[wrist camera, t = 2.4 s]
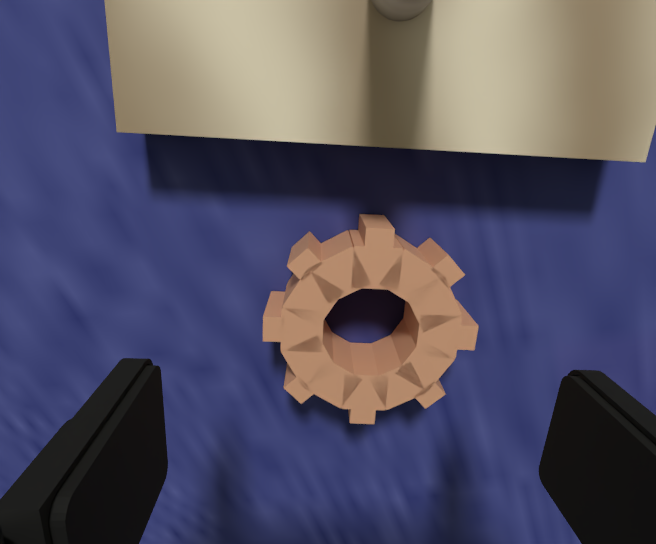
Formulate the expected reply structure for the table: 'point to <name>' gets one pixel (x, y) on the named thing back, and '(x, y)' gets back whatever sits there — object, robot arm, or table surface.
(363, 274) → the terracotta gear
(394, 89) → the gear board
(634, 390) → the table surface
